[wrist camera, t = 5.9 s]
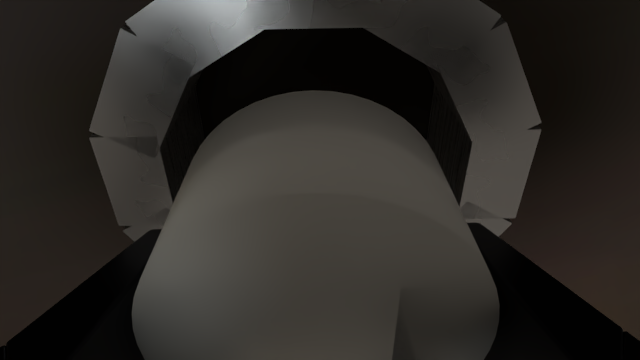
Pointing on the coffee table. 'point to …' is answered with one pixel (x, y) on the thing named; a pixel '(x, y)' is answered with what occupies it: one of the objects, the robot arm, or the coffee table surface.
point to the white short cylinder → (315, 244)
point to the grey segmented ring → (307, 13)
